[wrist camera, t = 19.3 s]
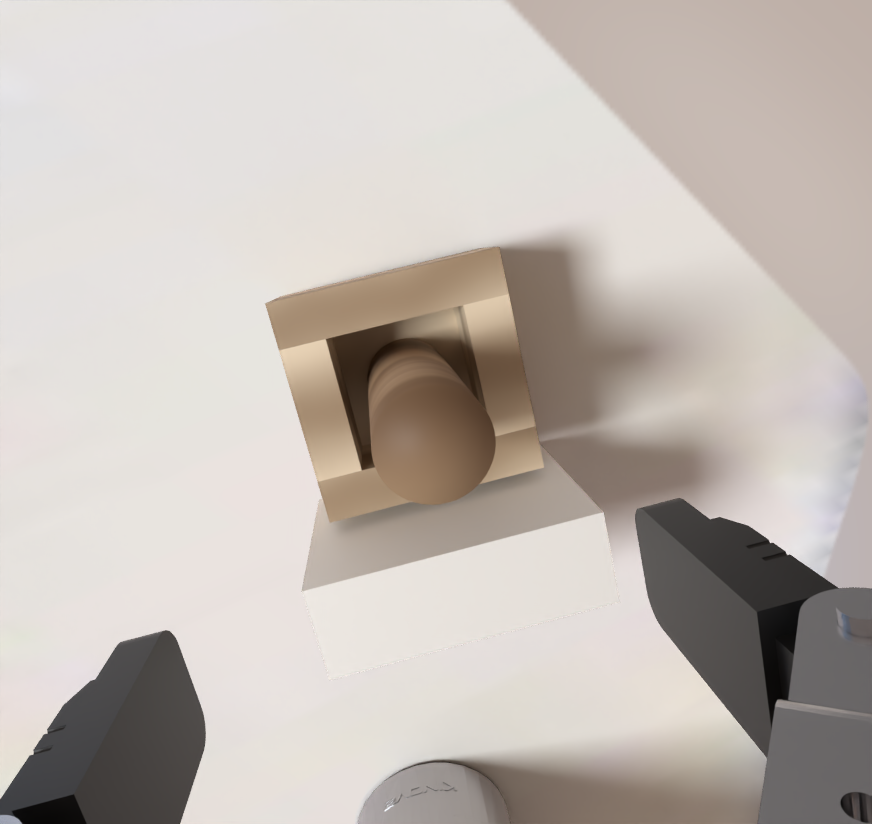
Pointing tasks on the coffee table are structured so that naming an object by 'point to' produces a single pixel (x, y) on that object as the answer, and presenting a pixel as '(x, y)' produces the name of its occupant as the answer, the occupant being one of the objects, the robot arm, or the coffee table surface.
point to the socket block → (376, 327)
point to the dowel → (426, 425)
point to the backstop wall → (455, 570)
